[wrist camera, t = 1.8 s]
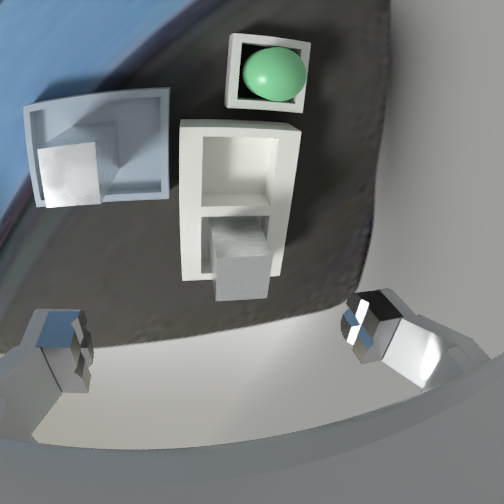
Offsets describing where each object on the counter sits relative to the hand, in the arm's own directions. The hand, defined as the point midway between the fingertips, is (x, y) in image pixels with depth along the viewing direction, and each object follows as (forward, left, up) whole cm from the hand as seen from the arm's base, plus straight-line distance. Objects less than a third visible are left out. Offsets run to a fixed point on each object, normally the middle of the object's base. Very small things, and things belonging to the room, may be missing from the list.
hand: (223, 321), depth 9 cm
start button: (-7, +5, -18) cm, 20 cm away
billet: (-1, -8, -19) cm, 21 cm away
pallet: (+4, +3, -20) cm, 20 cm away
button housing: (-7, +5, -20) cm, 21 cm away
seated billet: (+8, +3, -19) cm, 20 cm away
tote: (-1, -8, -20) cm, 21 cm away
